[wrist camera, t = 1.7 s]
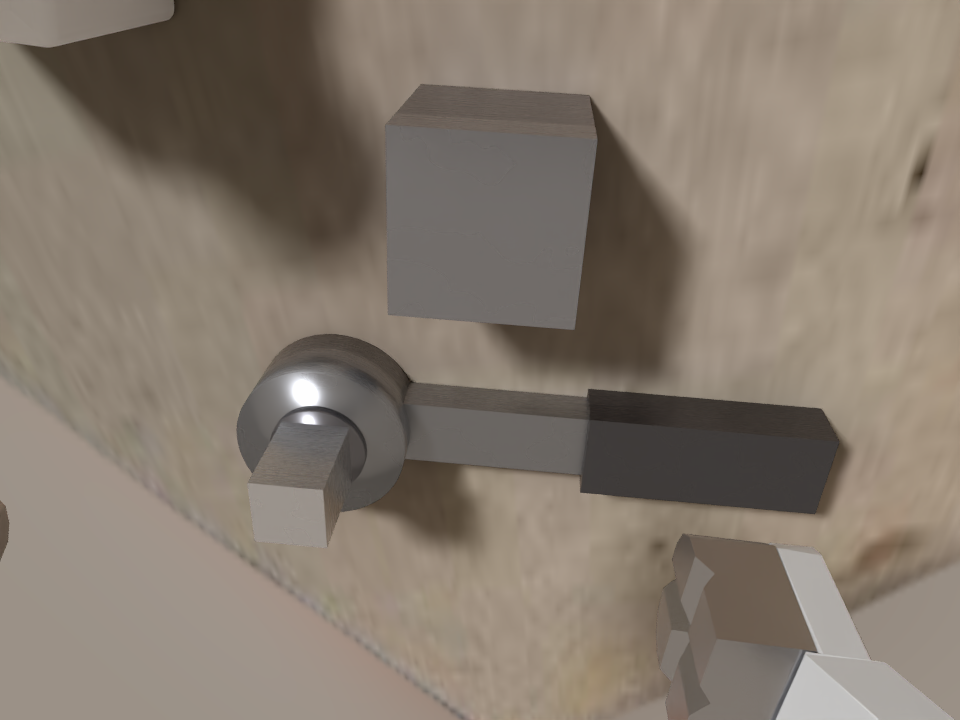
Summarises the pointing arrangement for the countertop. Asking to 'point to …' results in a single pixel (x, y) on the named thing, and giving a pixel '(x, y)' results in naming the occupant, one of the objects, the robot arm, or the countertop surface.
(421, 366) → the countertop surface
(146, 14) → the medicine bottle
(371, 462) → the ratchet
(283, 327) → the countertop surface
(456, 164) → the grey metal cube
